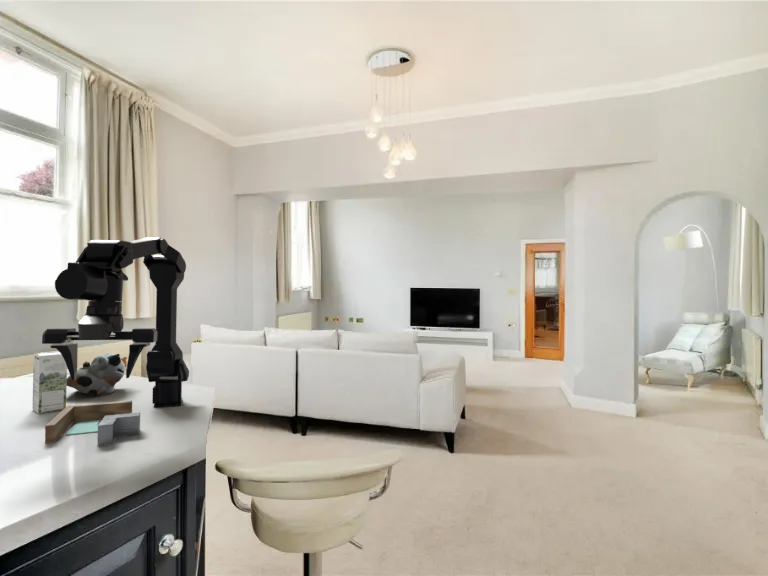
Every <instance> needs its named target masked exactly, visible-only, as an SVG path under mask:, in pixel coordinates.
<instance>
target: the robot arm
mask: <svg viewBox="0 0 768 576" xmlns="http://www.w3.org/2000/svg"><path fill="white" fill-rule="evenodd" d="M140 258H143V264H144V266H145V267H146V268H147V270H148V272H149V279H150V281H151V282H152V284H153V285H154V287H155V289H156V291H155V292H156V294H155V295H156V299H155V301H156V302H155V327H153V328H151V327H145V328H144V327H143V328H142V327H141V328H140V327H136V328H132V330H131V331H129V330H128V331H126V330H125V331H124V330H123V329H124V323H125V322H124V316H123V313H122V311H123V291H124V290H123V289H124V282H125V281H129V277H128V276H127V275H126V274H125V273H124V272H123V270H122V269H125V268H127V267H128V266H129V267H130V266H131V265H132V264H133V263H134V260H137V259H140ZM186 269H187V264H186V261H185V259H184V258H183V256H182V254H181V252H180V251H179V250H177V249H175V248H174V247H172V246H171V245H170V244H169V243H168V241H167V240H166V239H165V238H162V237H147V236H146V237H144V238H141V239H140V238H139V239H134V240H133V239H132V240H128V241H127V240H117V239H116V240H114V239H112V240H107V239H104V240H103V239H91V240H89V241H88V242H87V243H86V246H85V247H84V249H83V250H82V251H81V253H80V255H79V256H78V258H77V259H76V261H75V262H72V261H70V262H68V263H67V268H66V269H63V270H62V271H61V272H60V273H59V274H58V275H57V277H56V279H55V281H54V290H55V292H56V293H57V294H58V295H59V296H60V298H63V299H66V300H69V301H70V300H72V301H73V300H74V301H87V302H88V305H86V311H85V315H84V316H82V318H80V320H79V321H78V322H77V325H78V326H77V328H78V330H77V329H76V327H72V328H71V327H68V328H66V327H65V328H63V327H62V328H60V327H59V328H58V327H55V328H47V329H46V330H44V331H43V333H42V336H41V337H42V338H41V344H43V345H44V344H45V345H49V344H51V345H49V346H50V349H56V350H57V351H59V352H60V353H61V355H62V356H63V358H64V360H65V362H66V365H67V371H68V373H69V376H71V379H72V380H76V376H77V370H78V344H79V343H74V342H75V341H130V340H131V342H132V343H131V344H129V346H128V347H129V350H128V357H127V366H126V369H125V378H126V379H129V378H130V376H131V374H132V371H133V369H134V366H135V365H136V363H137V360H138V358H139V356H140V355H141V353H142V352H143V351H144V348H147V347H149V346H150V345H151V343H155V344H154V345H153V347H152V349H151V350H148V351H147V354H146V364H145V369H146V374H147V380H148V382H149V383H154V385H153V387H152V402H151V403H152V404H153V407H154V408H160V407H161V408H162V407H172V406H173V407H174V406H181V405H182V402H183V396H182V395H183V394H182V393H183V382H187V381H188V379H189V376H190V370H189V368H188V366H187V364H186V362H185V361H184V355H183V354H184V353H183V351H182V349H181V347H180V346H179V345H178V343H177V316H178V315H177V314H178V313H177V311H178V310H177V307H178V305H177V304H178V299H177V298H178V288H179V286H181V284H182V282H183V281H184V279H185V272H186Z"/></svg>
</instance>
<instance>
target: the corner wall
mask: <svg viewBox="0 0 768 576" xmlns="http://www.w3.org/2000/svg"><path fill="white" fill-rule="evenodd" d="M129 413H133V399H132V400H123V401H122V400H121V401H120V400H119V401H118V400H117V401H108V402H96V403H95V402H94V403H84V404H83V403H82V404H71V405H69V404H68V405H66V408H65V409H63V410H60V412H59V413H57V414H56V415H55V417H54V418H52V419H51V420H50V421H49V422H48V423H47V424H46V425H45V426H44V427H45V431H44V433H45V434H44V439H45V440H44V443H45V444H52V443H55V442H56V441H57V440H58V439H60V437H61V436H62V435H63V434H64V433H65V432H66V431H67V430H68V428H69V427H71V425H72V424H73V423H77V422H86V421H96V420H97V419H98V420H102V419H103V418H104V417H105V416H107V415H118V414H129Z"/></svg>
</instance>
